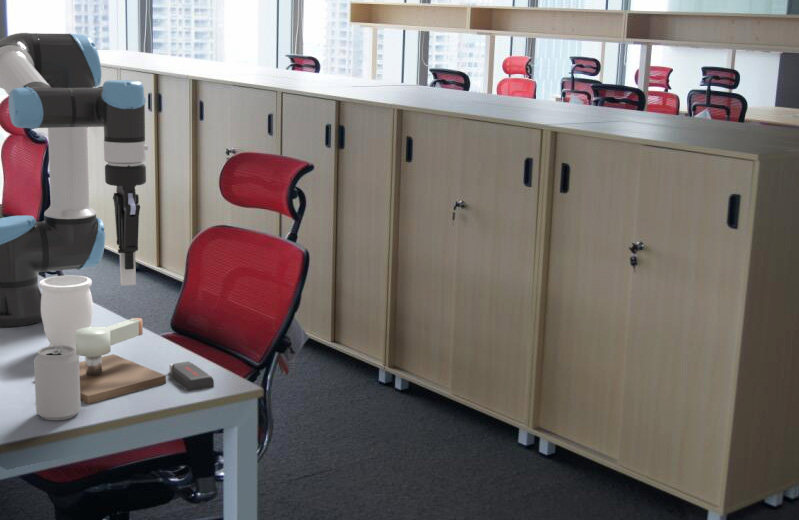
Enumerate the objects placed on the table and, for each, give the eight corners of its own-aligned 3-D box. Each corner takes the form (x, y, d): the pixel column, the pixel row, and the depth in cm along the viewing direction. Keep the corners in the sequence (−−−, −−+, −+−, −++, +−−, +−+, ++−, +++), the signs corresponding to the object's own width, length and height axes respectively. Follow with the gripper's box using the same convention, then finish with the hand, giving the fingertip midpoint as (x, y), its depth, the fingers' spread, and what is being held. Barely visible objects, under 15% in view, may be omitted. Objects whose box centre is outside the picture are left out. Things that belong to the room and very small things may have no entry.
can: (29, 421, 182) (26, 355, 180) (45, 405, 190) (43, 342, 187) (72, 423, 182) (69, 357, 179) (86, 407, 189) (84, 344, 187)
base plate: (37, 379, 203) (36, 372, 202) (113, 361, 215) (113, 354, 215) (88, 403, 191) (88, 396, 191) (166, 382, 204) (165, 375, 203)
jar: (78, 359, 216) (76, 288, 212) (32, 354, 218) (29, 284, 214) (103, 344, 226) (101, 276, 223) (58, 340, 228) (56, 272, 225)
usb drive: (188, 393, 199) (188, 379, 199) (165, 374, 209) (164, 361, 209) (214, 388, 202) (214, 375, 202) (189, 370, 212) (189, 357, 211)
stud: (82, 373, 203) (82, 352, 202) (96, 370, 205) (95, 349, 204) (91, 377, 201) (90, 356, 200) (105, 373, 203) (104, 353, 202)
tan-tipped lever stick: (93, 358, 198) (93, 338, 197) (68, 352, 200) (67, 332, 200) (152, 337, 212) (152, 318, 211) (128, 332, 215) (128, 313, 214)
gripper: (153, 167, 194) (155, 290, 200) (137, 158, 206) (140, 275, 211) (111, 168, 191) (115, 293, 196) (98, 159, 203) (102, 278, 208)
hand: (128, 284), depth 204 cm, fingers closed
